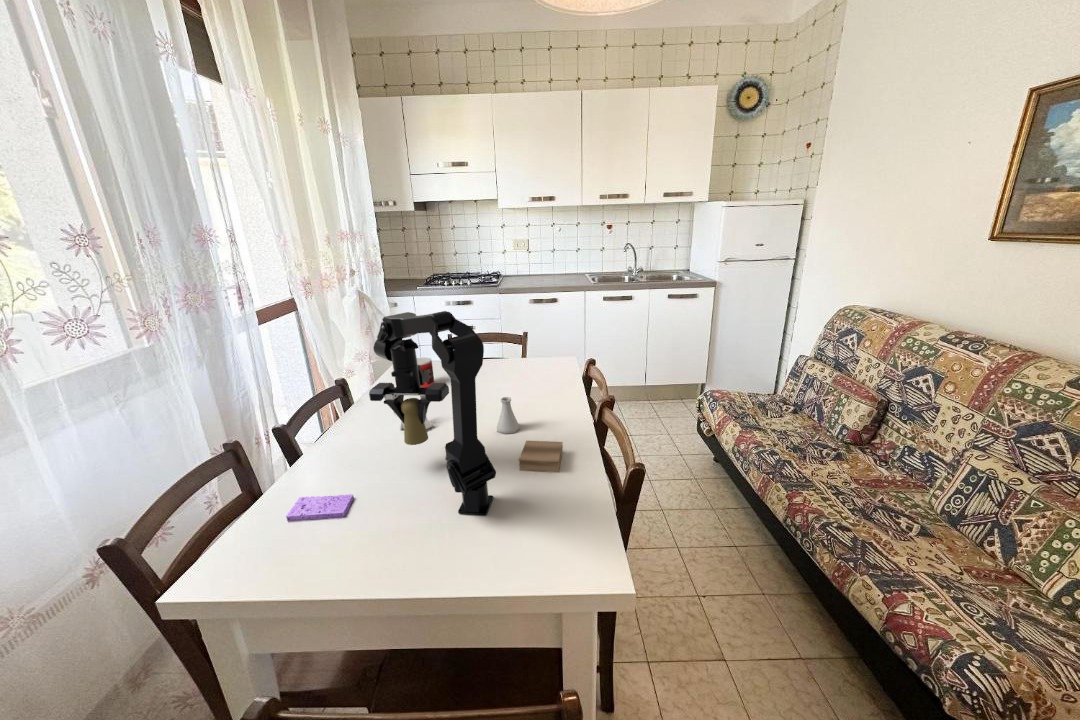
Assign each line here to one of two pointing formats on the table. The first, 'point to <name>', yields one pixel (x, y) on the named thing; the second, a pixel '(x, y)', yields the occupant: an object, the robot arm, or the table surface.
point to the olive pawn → (413, 423)
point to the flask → (507, 418)
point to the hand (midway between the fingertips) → (414, 422)
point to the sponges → (320, 507)
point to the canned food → (426, 365)
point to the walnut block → (541, 456)
